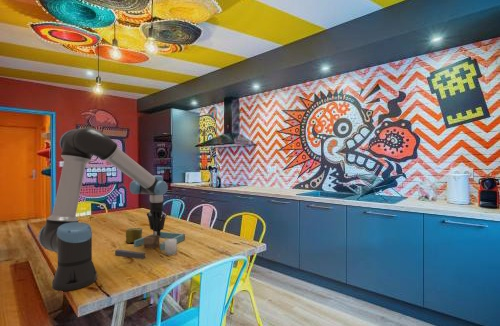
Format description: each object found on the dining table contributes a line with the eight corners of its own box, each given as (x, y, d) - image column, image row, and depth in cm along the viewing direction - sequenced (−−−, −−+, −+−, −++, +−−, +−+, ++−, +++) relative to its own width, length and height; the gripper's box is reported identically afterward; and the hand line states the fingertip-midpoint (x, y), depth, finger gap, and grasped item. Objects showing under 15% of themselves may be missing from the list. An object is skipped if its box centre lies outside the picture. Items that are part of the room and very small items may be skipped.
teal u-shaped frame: (161, 250, 147) (161, 244, 147) (134, 247, 154) (134, 240, 154) (184, 239, 168) (184, 233, 168) (159, 236, 175) (159, 231, 175)
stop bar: (142, 259, 135) (142, 254, 135) (115, 255, 141) (115, 250, 141) (145, 257, 136) (145, 253, 136) (118, 253, 143) (118, 249, 143)
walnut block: (152, 249, 150) (152, 238, 150) (143, 248, 152) (143, 237, 152) (159, 245, 156) (159, 235, 156) (151, 245, 158) (151, 234, 158)
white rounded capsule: (172, 255, 139) (171, 242, 139) (162, 254, 141) (162, 241, 141) (178, 252, 145) (178, 239, 145) (169, 250, 147) (169, 238, 147)
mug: (137, 241, 158) (134, 225, 160) (122, 246, 160) (120, 229, 162) (150, 240, 169) (147, 224, 172) (136, 244, 171) (134, 228, 174)
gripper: (169, 201, 159) (170, 241, 159) (151, 200, 164) (152, 239, 164) (161, 203, 152) (161, 244, 152) (143, 202, 157) (143, 242, 157)
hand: (156, 241), depth 158 cm, fingers closed
